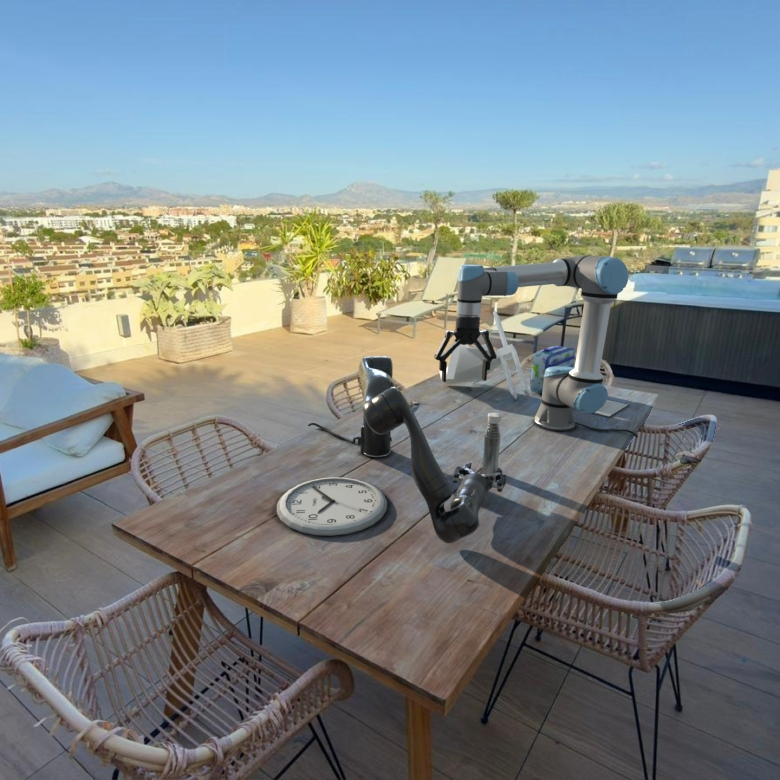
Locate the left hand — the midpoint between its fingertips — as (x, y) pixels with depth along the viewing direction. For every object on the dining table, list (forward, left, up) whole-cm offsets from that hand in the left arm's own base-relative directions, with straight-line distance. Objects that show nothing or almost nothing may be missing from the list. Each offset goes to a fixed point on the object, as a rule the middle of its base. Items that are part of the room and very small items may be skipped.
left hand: (484, 467), depth 153 cm
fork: (-43, +60, -6) cm, 74 cm away
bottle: (0, +10, -6) cm, 12 cm away
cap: (0, +10, +13) cm, 16 cm away
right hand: (-13, +22, +19) cm, 32 cm away
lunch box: (+10, +108, -6) cm, 108 cm away
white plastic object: (-21, +91, -6) cm, 94 cm away
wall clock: (-36, -27, -6) cm, 45 cm away
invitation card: (+32, +93, -6) cm, 99 cm away
